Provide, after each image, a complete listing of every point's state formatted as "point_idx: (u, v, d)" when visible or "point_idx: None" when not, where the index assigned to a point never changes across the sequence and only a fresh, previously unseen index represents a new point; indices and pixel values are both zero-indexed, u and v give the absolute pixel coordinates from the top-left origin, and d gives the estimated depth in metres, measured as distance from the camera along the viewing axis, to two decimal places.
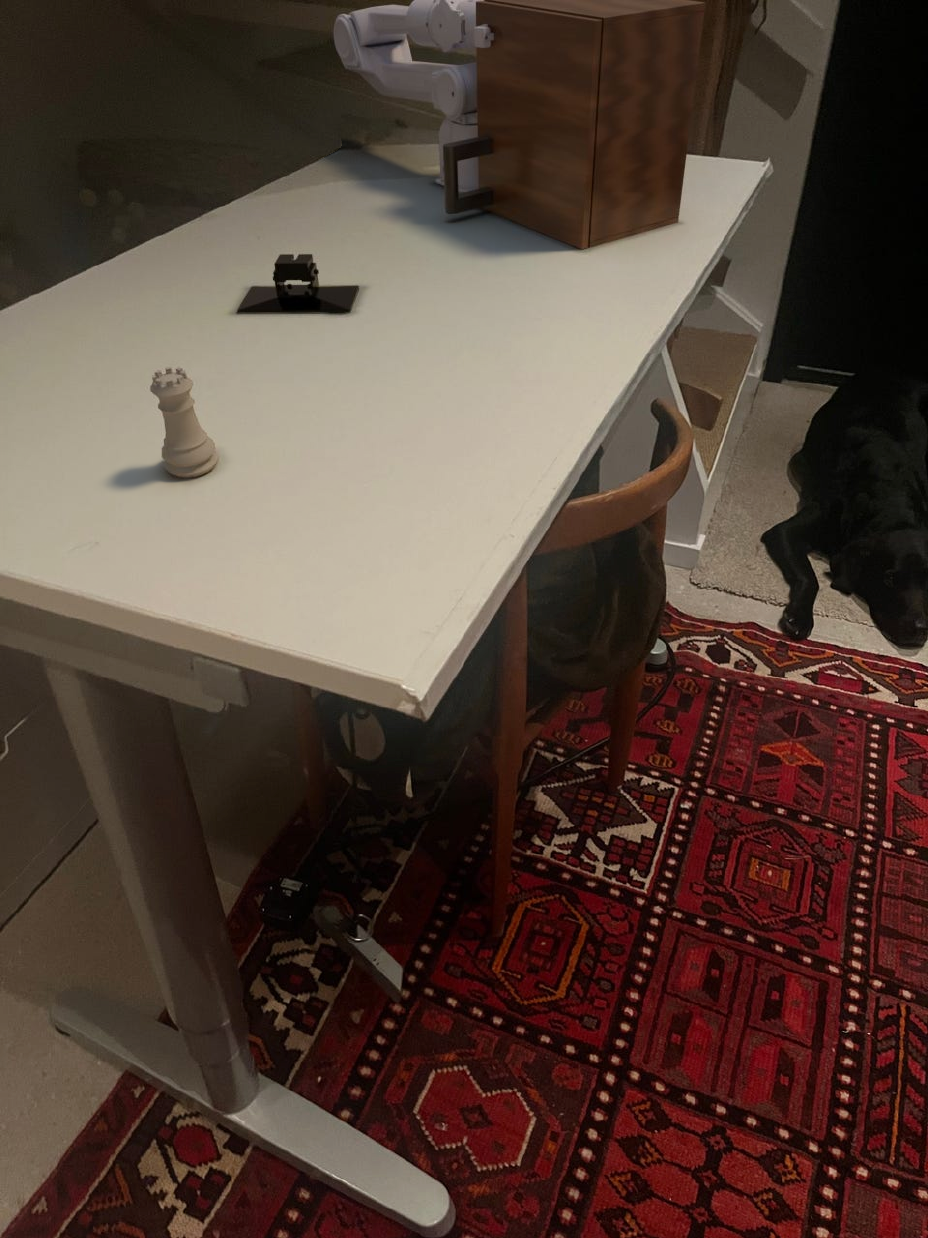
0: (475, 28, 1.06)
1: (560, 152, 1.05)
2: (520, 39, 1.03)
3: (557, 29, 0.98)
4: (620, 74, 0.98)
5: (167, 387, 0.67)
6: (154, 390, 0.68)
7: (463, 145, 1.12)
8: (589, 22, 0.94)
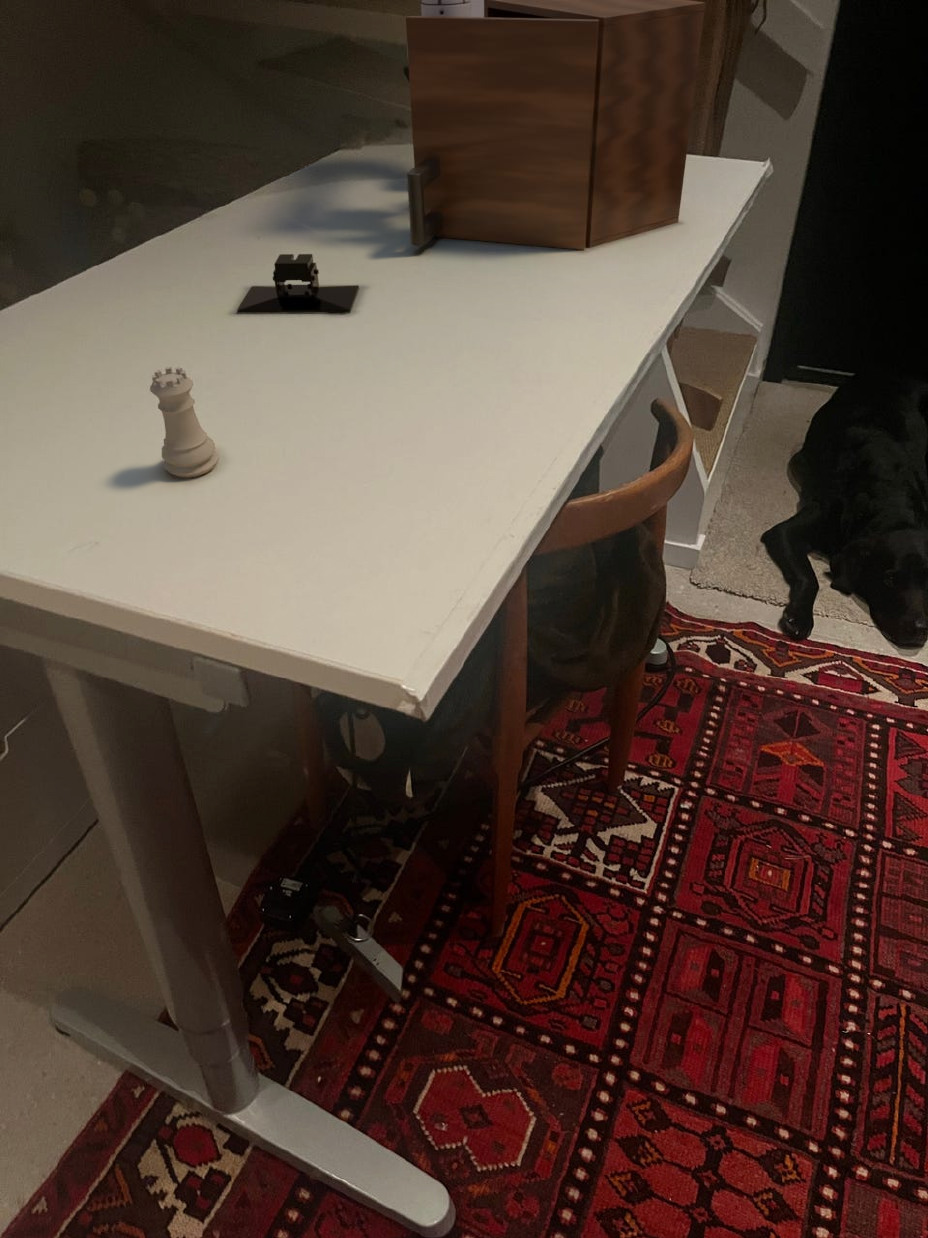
0: None
1: (549, 158, 1.03)
2: (482, 50, 0.98)
3: (540, 35, 0.95)
4: (620, 74, 0.98)
5: (167, 387, 0.67)
6: (154, 390, 0.68)
7: (426, 171, 1.04)
8: (589, 23, 0.93)
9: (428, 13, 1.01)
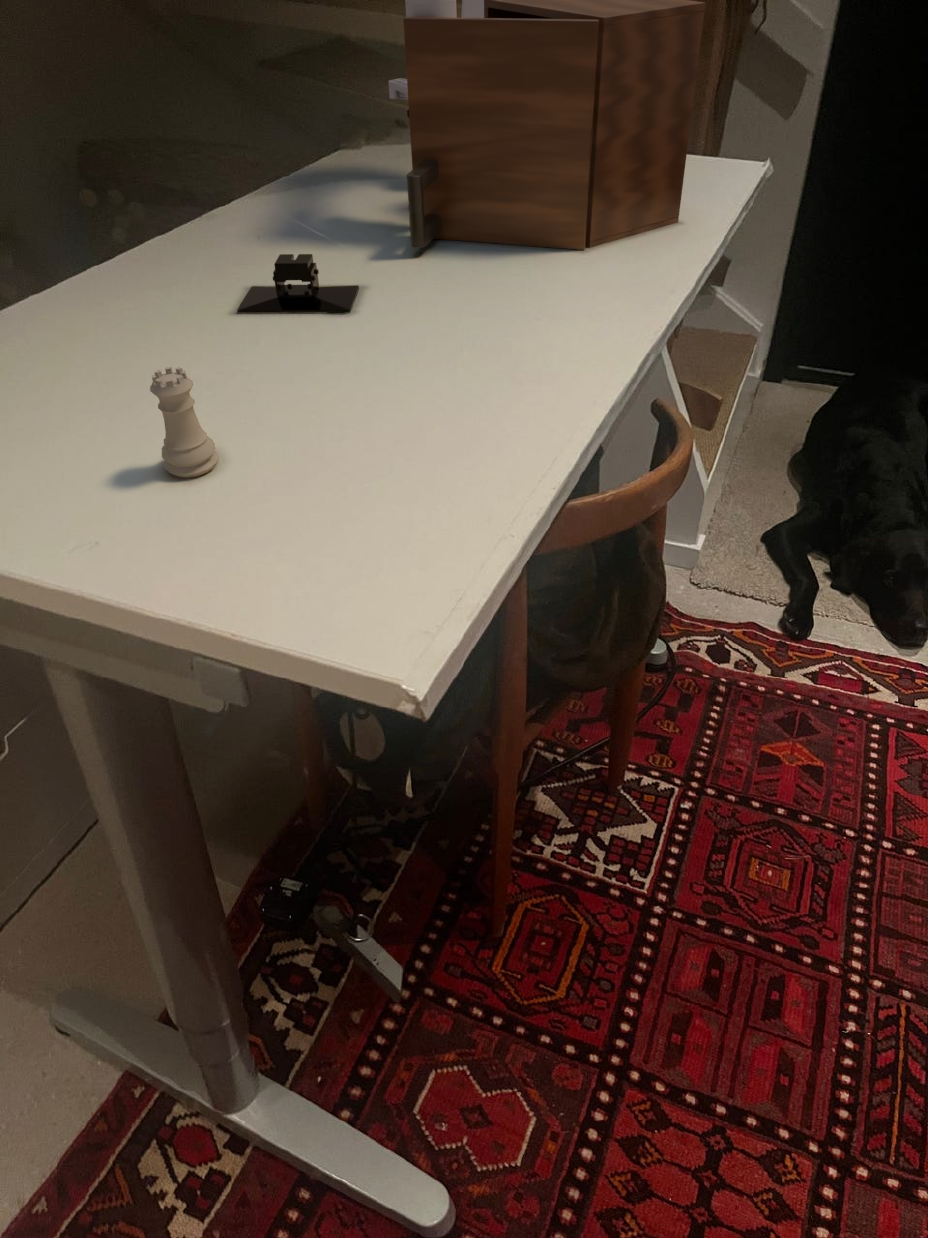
0: (389, 83, 1.09)
1: (548, 159, 1.03)
2: (481, 51, 0.98)
3: (540, 35, 0.95)
4: (620, 74, 0.98)
5: (167, 387, 0.67)
6: (154, 390, 0.68)
7: (425, 172, 1.03)
8: (589, 23, 0.93)
9: None
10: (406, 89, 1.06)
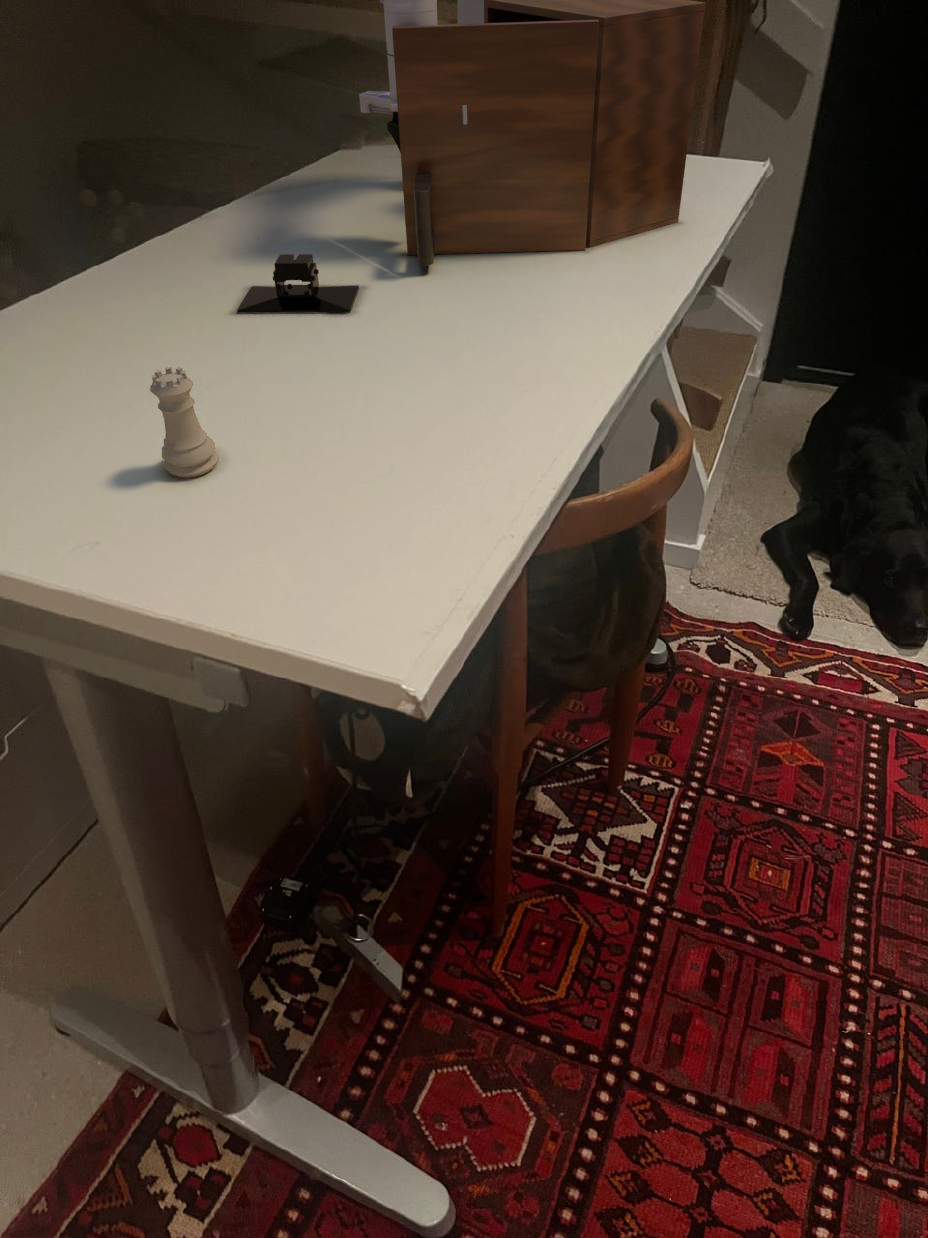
0: None
1: (549, 162, 1.02)
2: (478, 57, 0.95)
3: (540, 38, 0.94)
4: (620, 74, 0.98)
5: (167, 387, 0.67)
6: (154, 390, 0.68)
7: (430, 186, 0.99)
8: (591, 24, 0.93)
9: None
10: (387, 102, 1.01)
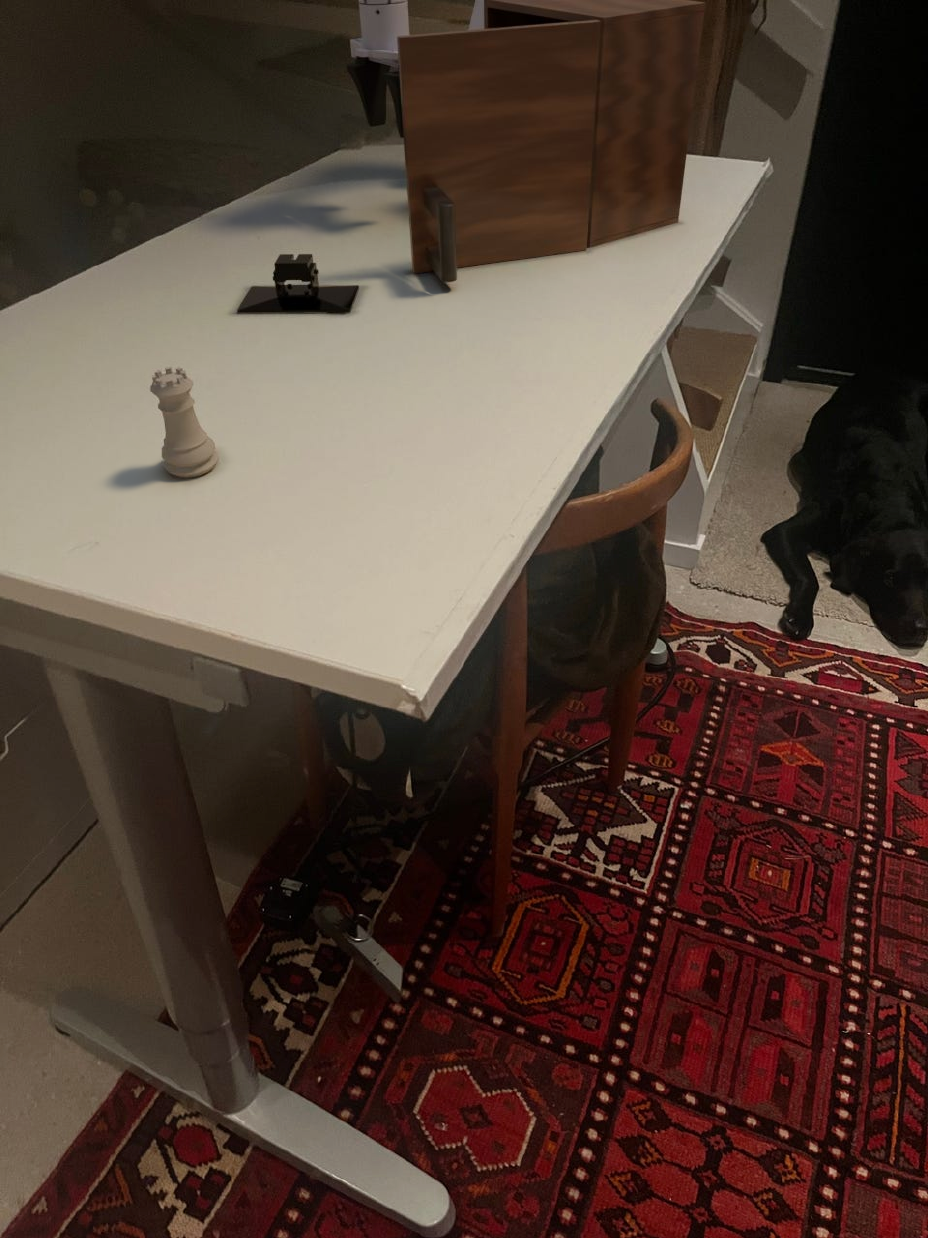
0: None
1: (553, 165, 1.01)
2: (485, 64, 0.92)
3: (545, 40, 0.93)
4: (620, 74, 0.98)
5: (167, 387, 0.67)
6: (154, 390, 0.68)
7: (450, 200, 0.95)
8: (593, 24, 0.93)
9: (365, 12, 1.04)
10: (359, 47, 1.08)
